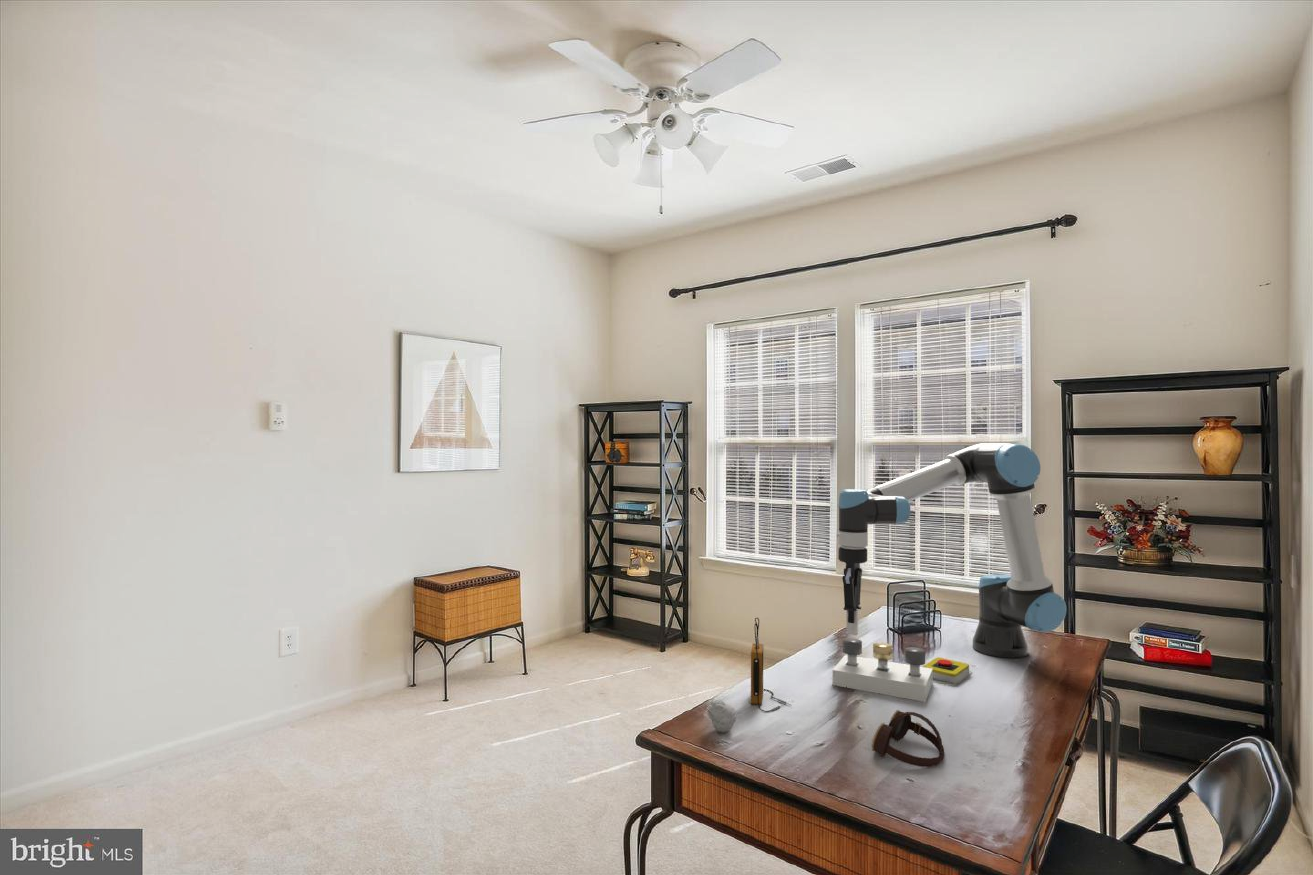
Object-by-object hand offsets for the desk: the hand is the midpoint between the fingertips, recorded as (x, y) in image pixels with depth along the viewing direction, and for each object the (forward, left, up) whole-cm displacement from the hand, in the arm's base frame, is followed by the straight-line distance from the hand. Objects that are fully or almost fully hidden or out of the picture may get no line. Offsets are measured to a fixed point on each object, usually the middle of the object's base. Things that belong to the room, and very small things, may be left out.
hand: (852, 633), depth 185 cm
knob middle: (-8, 0, -9) cm, 12 cm away
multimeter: (+14, +25, -13) cm, 31 cm away
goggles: (-21, +37, -13) cm, 44 cm away
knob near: (-16, 0, -9) cm, 19 cm away
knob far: (0, 0, -9) cm, 9 cm away
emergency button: (-22, -16, -13) cm, 30 cm away
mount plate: (-8, 0, -12) cm, 15 cm away
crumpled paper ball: (+18, +47, -13) cm, 52 cm away
